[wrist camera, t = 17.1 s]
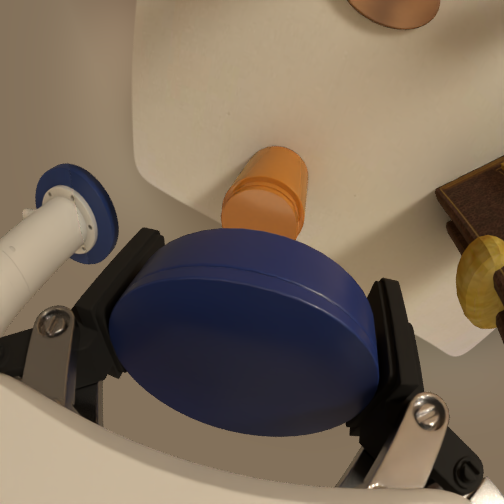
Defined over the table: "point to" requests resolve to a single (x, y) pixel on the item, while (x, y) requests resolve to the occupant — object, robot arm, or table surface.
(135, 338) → the lid
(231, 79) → the table surface
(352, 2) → the coaster
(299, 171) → the jar
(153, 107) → the table surface
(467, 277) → the book
